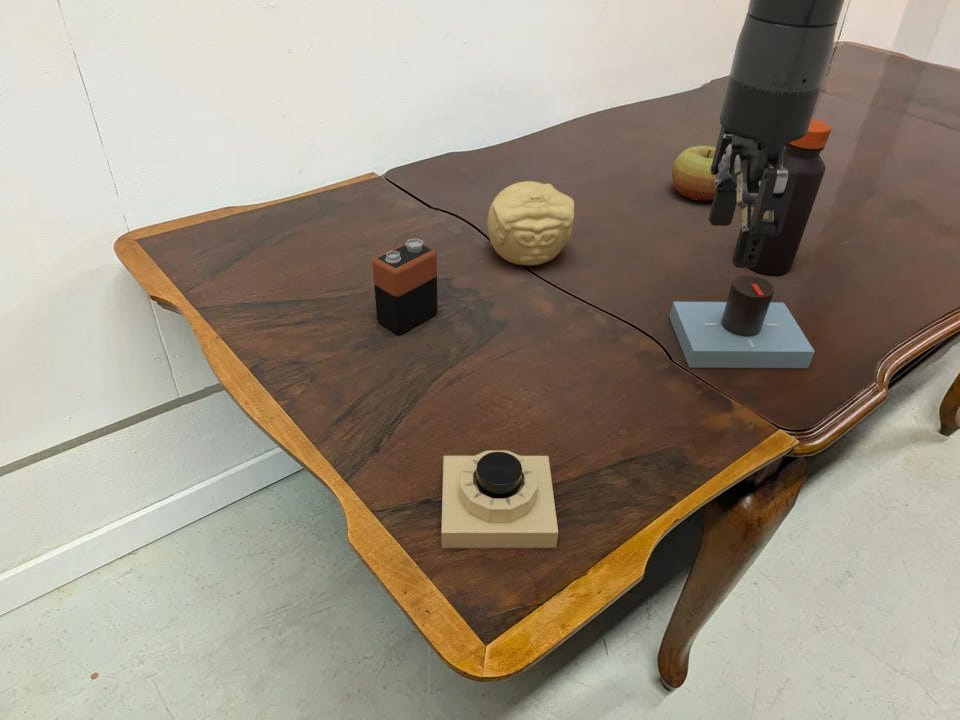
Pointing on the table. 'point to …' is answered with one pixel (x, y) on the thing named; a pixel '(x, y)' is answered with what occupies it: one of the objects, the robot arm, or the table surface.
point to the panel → (739, 338)
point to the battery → (405, 285)
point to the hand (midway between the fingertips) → (730, 243)
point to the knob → (747, 305)
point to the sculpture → (530, 222)
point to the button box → (498, 507)
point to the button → (498, 474)
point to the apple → (695, 173)
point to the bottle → (796, 199)
